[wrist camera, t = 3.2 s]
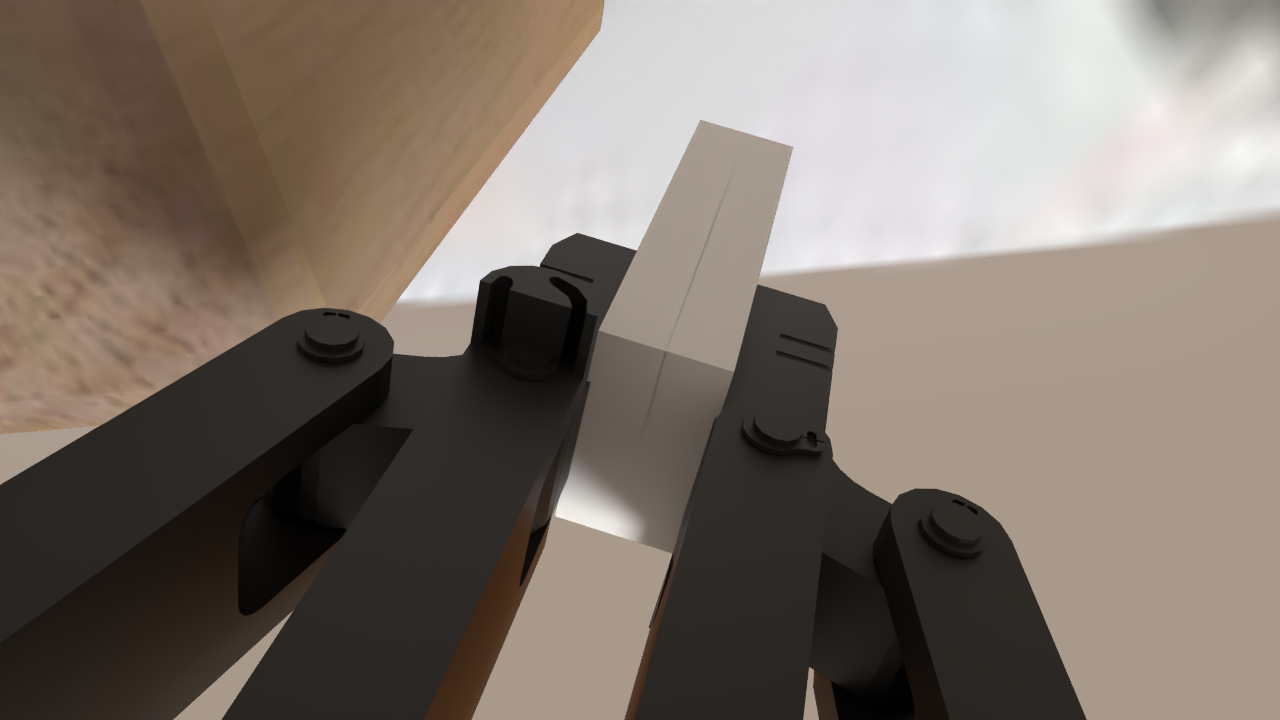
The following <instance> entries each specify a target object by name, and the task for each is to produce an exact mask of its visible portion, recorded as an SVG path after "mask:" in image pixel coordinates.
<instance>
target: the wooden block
mask: <svg viewBox="0 0 1280 720" xmlns="http://www.w3.org/2000/svg"><path fill="white" fill-rule="evenodd" d="M603 8H604V0H0V434H10V433H21V432H34V431H45V430H57V429H69V428H81V427H93V426H100V425H102V424H104V423H106V422H107V421H109V420H111V419H112V418H114V417H116V416H117V415H119V414H121V413H122V412H124V411H126V410H127V409H129V408H131V407H133V406H134V405H136V404H138V403H139V402H141V401H143V400H144V399H146V398H148V397H149V396H151V395H153V394H155V393H156V392H158V391H160V390H161V389H163V388H165V387H166V386H168V385H170V384H171V383H173V382H175V381H176V380H178V379H180V378H182V377H183V376H185V375H187V374H188V373H190V372H192V371H193V370H195V369H197V368H198V367H200V366H202V365H203V364H205V363H207V362H209V361H210V360H212V359H214V358H215V357H217V356H219V355H220V354H222V353H224V352H225V351H227V350H229V349H231V348H232V347H234V346H236V345H237V344H239V343H241V342H242V341H244V340H246V339H247V338H249V337H251V336H252V335H254V334H256V333H258V332H259V331H261V330H263V329H264V328H266V327H268V326H269V325H271V324H273V323H274V322H276V321H278V320H279V319H281V318H283V317H286V316H288V315H291V314H294V313H296V312H299V311H301V310H309V309H318V308H335V309H343V310H350V311H353V312H356V313H359V314H362V315H365V316H368V317H370V318H372V319H373V320H375V321H376V322H378V323H379V324H380V323H381V321H382V320H383V318H384V317H385V316H386V315H387V313H388V312H389V311H390V309H391V308H392V307H393V305H394V304H395V303H396V301H397V300H398V299H399V297H400V296H401V295H402V293H403V292H404V291H405V289H406V288H407V287H408V285H409V284H410V283H411V281H412V280H413V279H414V277H415V276H416V275H417V273H418V272H419V271H420V269H421V268H422V267H423V265H424V264H425V263H426V261H427V260H428V259H429V257H430V256H431V255H432V253H433V252H434V251H435V249H436V248H437V247H438V245H439V244H440V243H441V241H442V240H443V239H444V237H445V236H446V235H447V233H448V232H449V231H450V229H451V228H452V227H453V225H454V224H455V223H456V221H457V220H458V219H459V217H460V216H461V215H462V213H463V212H464V211H465V209H466V208H467V207H468V205H469V204H470V203H471V201H472V200H473V199H474V197H475V196H476V195H477V193H478V192H479V191H480V189H481V188H482V187H483V185H484V184H485V183H486V181H487V180H488V179H489V177H490V176H491V175H492V173H493V172H494V171H495V169H496V168H497V167H498V165H499V164H500V163H501V161H502V160H503V159H504V157H505V156H506V155H507V153H508V152H509V151H510V149H511V148H512V147H513V145H514V144H515V143H516V141H517V140H518V139H519V137H520V136H521V135H522V133H523V132H524V131H525V129H526V128H527V127H528V125H529V124H530V123H531V121H532V120H533V119H534V117H535V116H536V115H537V113H538V112H539V111H540V109H541V108H542V107H543V105H544V104H545V103H546V101H547V100H548V99H549V97H550V96H551V95H552V93H553V92H554V91H555V89H556V88H557V87H558V85H559V84H560V83H561V81H562V80H563V79H564V77H565V76H566V75H567V73H568V72H569V71H570V69H571V68H572V67H573V65H574V64H575V63H576V61H577V60H578V59H579V57H580V56H581V55H582V53H583V52H584V51H585V49H586V48H587V47H588V45H589V44H590V43H591V41H592V40H593V39H594V37H595V36H596V35H597V33H598V32H599V31H600V27H601V21H602V15H603Z"/></svg>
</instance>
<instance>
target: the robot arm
mask: <svg viewBox="0 0 1280 720" xmlns="http://www.w3.org/2000/svg"><path fill="white" fill-rule="evenodd" d="M792 149H793V147H791V146H788V145H784V144H781V143H777V142H774V141H771V140H767V139H764V138H760V137H757V136H754V135H750V134H747V133H743V132H740V131H736V130H733V129H730V128H726V127H723V126H719V125H716V124H712V123H709V122H706V121H702V120H700V122H699V124H698V126H697V128H696V130H695V133H694V135H693V137H692V139H691V141H690V143H689V145H688V147H687V149H686V151H685V153H684V155H683V157H682V159H681V161H680V163H679V166H678V168H677V170H676V172H675V174H674V176H673V178H672V180H671V182H670V184H669V186H668V188H667V190H666V192H665V194H664V196H663V199H662V201H661V203H660V205H659V207H658V209H657V211H656V213H655V215H654V217H653V219H652V221H651V223H650V225H649V227H648V229H647V232H646V234H645V236H644V238H643V240H642V242H641V244H640V246H639V248H638V250H637V251H636V250H632V249H629V248H626V247H622V246H619V245H616V244H612V243H609V242H606V241H602V240H599V239H596V238H592V237H589V236H586V235H582V234H579V233H576V234H574V235H572V236H570V237H568V238H566V239H564V240H562V241H560V242H558V243H556V244H554V245H552V247H551V248H550V250H549V251H548V253H547V254H546V256H545V258H544V259H543V261H542V262H541V264H540V267H537V266H509V267H505V268H502V269H498V270H494V271H492V272H490V273H489V274H488V275H487V276H485V277H484V278H483V279H481V280H480V284H479V291H478V297H477V304H476V311H475V317H474V323H473V330H472V337H471V343H470V345H469V346H468V348H467V349H466V351H465V352H464V354H463V355H458V356H450V357H421V356H411V355H400V354H393V347H394V341H393V339H392V337H391V336H390V334H389V333H388V331H387V329H386V328H385V327H383V326H382V325H380V324H379V323H378V322H376V321H375V320H373V319H372V318H370V317H368V316H365V315H362V314H359V313H356V312H353V311H350V310H343V309H335V308H318V309H309V310H301V311H299V312H296V313H294V314H291V315H288V316H286V317H283V318H281V319H279V320H278V321H276V322H274V323H273V324H271V325H269V326H268V327H266V328H264V329H263V330H261V331H259V332H258V333H256V334H254V335H252V336H251V337H249V338H247V339H246V340H244V341H242V342H241V343H239V344H237V345H236V346H234V347H232V348H231V349H229V350H227V351H225V352H224V353H222V354H220V355H219V356H217V357H215V358H214V359H212V360H210V361H209V362H207V363H205V364H203V365H202V366H200V367H198V368H197V369H195V370H193V371H192V372H190V373H188V374H187V375H185V376H183V377H182V378H180V379H178V380H176V381H175V382H173V383H171V384H170V385H168V386H166V387H165V388H163V389H161V390H160V391H158V392H156V393H155V394H153V395H151V396H149V397H148V398H146V399H144V400H143V401H141V402H139V403H138V404H136V405H134V406H133V407H131V408H129V409H127V410H126V411H124V412H122V413H121V414H119V415H117V416H116V417H114V418H112V419H111V420H109V421H107V422H106V423H104V424H102V425H100V426H99V427H97V428H95V429H94V430H92V431H90V432H89V433H87V434H85V435H84V436H82V437H80V438H79V439H77V440H75V441H73V442H72V443H70V444H68V445H67V446H65V447H63V448H62V449H60V450H58V451H57V452H55V453H53V454H52V455H50V456H49V457H47V458H45V459H43V460H41V461H40V462H38V463H36V464H35V465H33V466H31V467H30V468H28V469H26V470H24V471H23V472H21V473H19V474H18V475H16V476H14V477H13V478H11V479H9V480H8V481H6V482H4V483H3V484H1V485H0V720H173V719H174V718H175V717H176V716H178V715H179V714H180V713H181V712H182V711H183V710H184V709H185V708H186V707H187V706H189V705H190V704H191V703H192V702H193V701H194V700H195V699H196V698H197V697H198V696H200V695H201V694H202V693H203V692H204V691H205V690H206V689H207V688H208V687H209V686H211V685H212V684H213V683H214V682H215V681H216V680H217V679H218V678H219V677H220V676H222V675H223V673H225V672H226V671H227V670H228V669H229V668H230V667H231V666H232V665H234V664H235V663H236V662H237V661H238V660H239V659H240V658H241V657H242V656H243V655H245V654H246V653H247V652H248V651H249V650H250V649H251V648H252V647H253V646H254V645H256V644H257V643H258V642H259V641H260V640H261V639H262V638H263V637H264V636H265V635H266V634H268V633H269V632H270V631H271V630H272V629H273V628H274V627H275V626H276V625H278V624H279V623H280V622H281V621H282V620H283V619H284V618H285V617H286V616H287V615H288V614H289V613H291V612H292V611H293V610H294V611H293V612H292V614H291V616H290V617H289V618H288V620H287V622H286V623H285V625H284V626H283V628H282V629H281V631H280V632H279V634H278V635H277V637H276V638H275V640H274V641H273V643H272V644H271V646H270V647H269V649H268V650H267V652H266V653H265V655H264V656H263V658H262V659H261V661H260V662H259V664H258V665H257V667H256V668H255V670H254V671H253V673H252V674H251V676H250V678H249V679H248V681H247V682H246V684H245V685H244V687H243V688H242V690H241V691H240V693H239V694H238V696H237V697H236V699H235V700H234V702H233V703H232V705H231V706H230V708H229V709H228V711H227V712H226V714H225V715H224V717H223V719H222V720H471V719H472V717H473V715H474V712H475V710H476V707H477V705H478V703H479V700H480V698H481V696H482V693H483V691H484V688H485V686H486V684H487V681H488V679H489V677H490V674H491V672H492V670H493V667H494V664H495V663H496V660H497V658H498V655H499V653H500V650H501V648H502V646H503V643H504V641H505V639H506V636H507V634H508V632H509V629H510V627H511V625H512V622H513V620H514V617H515V615H516V613H517V610H518V608H519V606H520V603H521V601H522V598H523V596H524V594H525V591H526V589H527V587H528V584H529V582H530V580H531V577H532V574H533V573H534V570H535V568H536V565H537V563H538V561H539V558H540V556H541V554H542V551H543V549H544V546H545V542H546V538H547V534H548V529H549V525H550V520H551V516H552V513H553V511H554V509H555V507H556V504H557V502H558V500H559V502H558V506H557V511H556V515H555V516H556V517H559V518H563V519H566V520H569V521H572V522H575V523H578V524H582V525H585V526H588V527H591V528H594V529H597V530H601V531H604V532H607V533H610V534H613V535H616V536H619V537H623V538H626V539H629V540H632V541H635V542H638V543H641V544H645V545H648V546H651V547H654V548H657V549H660V550H664V551H667V552H670V553H673V554H672V558H671V560H670V564H669V567H668V570H667V573H666V576H665V579H664V582H663V585H662V588H661V591H660V594H659V597H658V601H657V603H656V607H655V610H654V613H653V616H652V619H651V622H650V625H649V628H650V631H649V635H648V638H647V642H646V645H645V649H644V652H643V656H642V659H641V663H640V666H639V670H638V674H637V677H636V681H635V684H634V688H633V691H632V695H631V698H630V702H629V705H628V709H627V712H626V716H625V719H624V720H803V715H804V706H805V697H806V689H807V680H808V671H809V667H810V668H812V669H814V684H813V688H814V694H815V699H816V705H817V709H818V715H819V720H1086V717H1085V715H1084V713H1083V710H1082V707H1081V705H1080V703H1079V701H1078V698H1077V696H1076V693H1075V691H1074V688H1073V686H1072V684H1071V681H1070V679H1069V676H1068V674H1067V672H1066V669H1065V667H1064V665H1063V662H1062V660H1061V658H1060V655H1059V653H1058V650H1057V648H1056V646H1055V643H1054V641H1053V638H1052V636H1051V634H1050V631H1049V629H1048V626H1047V624H1046V622H1045V619H1044V617H1043V614H1042V612H1041V610H1040V607H1039V605H1038V603H1037V600H1036V598H1035V595H1034V593H1033V591H1032V588H1031V586H1030V583H1029V581H1028V579H1027V576H1026V574H1025V572H1024V569H1023V567H1022V565H1021V562H1020V560H1019V558H1018V555H1017V552H1016V550H1015V548H1014V546H1013V543H1012V541H1011V539H1010V538H1009V536H1008V535H1007V533H1006V532H1005V530H1004V529H1003V527H1002V525H1001V524H1000V523H999V522H998V521H997V520H996V519H994V518H993V517H992V516H991V515H990V514H989V513H988V512H986V511H985V510H984V509H983V508H982V507H980V506H978V505H976V504H974V503H973V502H971V501H969V500H967V499H965V498H963V497H961V496H959V495H956V494H952V493H949V492H946V491H942V490H938V489H913V490H910V491H908V492H905V493H903V494H900V495H899V496H898V497H897V499H896V500H895V502H894V503H893V504H891V503H889V502H887V501H885V500H883V499H882V498H880V497H878V496H876V495H874V494H873V493H871V492H869V491H867V490H866V489H864V488H863V487H861V486H860V485H858V484H857V483H855V482H854V481H852V480H851V479H850V478H849V477H848V476H847V475H846V474H845V473H843V472H842V471H841V470H840V469H839V467H838V466H837V465H836V463H835V462H834V461H833V459H832V458H833V453H832V447H831V441H830V438H829V437H828V436H827V434H826V433H825V429H826V421H827V412H828V404H829V396H830V388H831V380H832V369H833V363H834V352H835V347H836V338H837V330H838V328H837V326H836V324H835V322H834V320H833V318H832V316H831V315H830V313H829V311H828V309H827V307H826V305H824V304H821V303H818V302H815V301H811V300H808V299H804V298H801V297H798V296H795V295H791V294H788V293H784V292H781V291H778V290H775V289H771V288H768V287H765V286H761V285H758V284H757V283H758V279H759V275H760V272H761V268H762V264H763V260H764V256H765V252H766V249H767V245H768V241H769V237H770V233H771V230H772V226H773V222H774V218H775V214H776V210H777V207H778V203H779V199H780V195H781V191H782V188H783V184H784V180H785V176H786V172H787V169H788V165H789V161H790V157H791V153H792ZM559 497H560V498H559Z"/></svg>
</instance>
